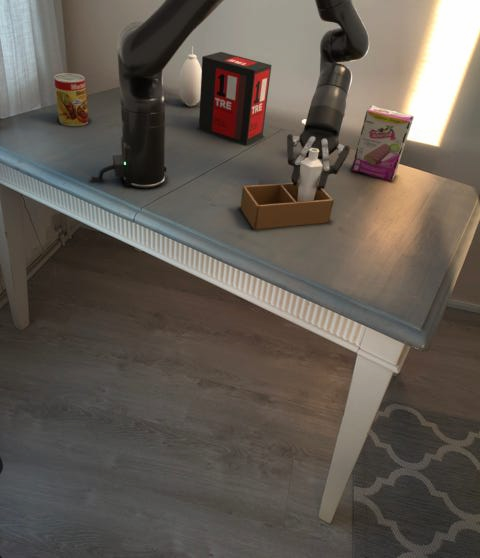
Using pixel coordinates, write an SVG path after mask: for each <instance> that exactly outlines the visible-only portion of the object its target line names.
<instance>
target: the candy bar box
mask: <svg viewBox="0 0 480 558" xmlns="http://www.w3.org/2000/svg"><path fill="white" fill-rule="evenodd" d="M413 121H414V115H411V114H408V113H404V112H399V111H394V110H391V109H388V108H383V107H380V106H375V105H370V106H369V108H367V109H366V112H365V115H364V120H363V123H362V128H361V131H360V135H359V139H358V143H357V146H356V151H355V154H354V158H353V162H352V166H351V171H353V172H356V173H359V174H362V175H367V176H370V177H373V178H378V179H380V180H381V179H382V180H384V181H388V182H392V181H393V180H394V178H395V177H396V175H397V171H398V168H399V165H400V161H401V159H402V155H403V152H404V149H405V145H406V142H407V140H408V136H409V133H410V130H411V127H412V124H413Z"/></svg>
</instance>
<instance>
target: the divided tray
mask: <svg viewBox="0 0 480 558" xmlns="http://www.w3.org/2000/svg"><path fill="white" fill-rule="evenodd" d="M298 187H299V182H298V183H297V186H295V185H293V182H286V183H285V182H284V183H270V184H254V185H242V191H241V200H240V207H239V208H240V210H241V212H242V213H243V215H244V217H245V218H246V219H247V221H248V223H249V224H250V225H251V228H252V229H253V230H265V229H275V228H287V227H296V226H305V225H317V224H318V225H319V224H328V223H329V222H330V218H331V215H332V214H331V213H332V210H333V206H334V201H335V200H334V199H333V198H332V196H330V194H329V193H327V191H326V190H325V189H322V188H321V191H318V190H317V189H316V192H315V196H314V200H313V201H305V202H297V199H298ZM317 188H318V185H317Z"/></svg>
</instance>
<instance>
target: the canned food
mask: <svg viewBox="0 0 480 558" xmlns="http://www.w3.org/2000/svg"><path fill="white" fill-rule="evenodd" d="M53 80H54V88H55V89H54V90H55V96H56V104H57V112H58V120H59V121H58V122H59V123H60V124H61V125H63V126H68V127H82V126H85V125H87V124H88V123H89V114H88V113H89V111H88V101H87V99H88V98H87V89H86V88H87V87H86V78H85V76H84V75H82V74H78V73H74V72H73V73H70V72H67V73H66V72H65V73H64V72H63V73H59V74H56V75H54V77H53Z"/></svg>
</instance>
